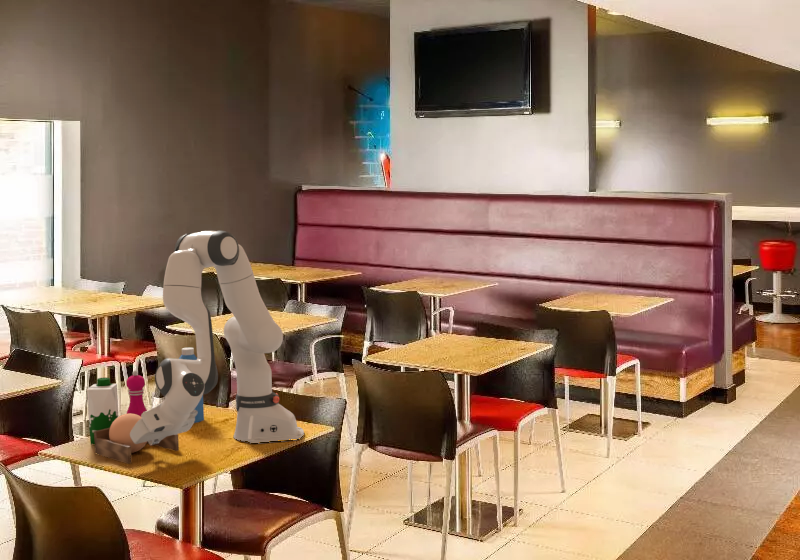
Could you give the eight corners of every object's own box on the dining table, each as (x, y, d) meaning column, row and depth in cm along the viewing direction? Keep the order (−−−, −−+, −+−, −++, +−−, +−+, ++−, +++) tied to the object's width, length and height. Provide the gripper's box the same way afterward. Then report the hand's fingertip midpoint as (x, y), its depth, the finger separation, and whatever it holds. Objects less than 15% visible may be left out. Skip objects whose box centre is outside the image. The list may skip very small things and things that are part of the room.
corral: (178, 450, 320) (177, 427, 320) (128, 463, 307) (127, 440, 306) (145, 441, 332) (144, 419, 331) (95, 453, 318) (93, 431, 317)
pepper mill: (137, 433, 341) (134, 373, 339) (121, 430, 345) (119, 371, 343) (153, 428, 347) (151, 369, 345) (138, 426, 351) (135, 367, 349)
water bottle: (195, 415, 365) (192, 345, 362) (209, 419, 358) (206, 348, 355) (171, 420, 358) (168, 348, 356) (185, 424, 352) (182, 352, 349)
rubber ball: (150, 411, 325) (145, 448, 326) (111, 407, 321) (105, 444, 322) (153, 421, 314) (147, 459, 315) (112, 417, 310) (106, 456, 311)
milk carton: (122, 437, 336) (119, 376, 334) (114, 445, 327) (111, 382, 325) (94, 438, 336) (91, 377, 334) (86, 445, 327) (83, 383, 325)
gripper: (194, 400, 315) (176, 427, 322) (137, 413, 299) (119, 441, 307) (204, 417, 312) (185, 443, 320) (147, 431, 297) (129, 458, 304)
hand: (152, 442), depth 313 cm, fingers closed
